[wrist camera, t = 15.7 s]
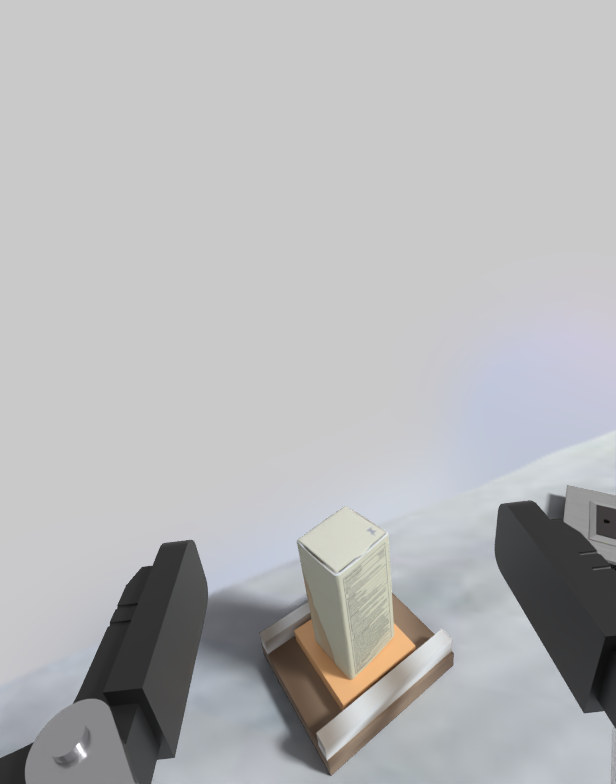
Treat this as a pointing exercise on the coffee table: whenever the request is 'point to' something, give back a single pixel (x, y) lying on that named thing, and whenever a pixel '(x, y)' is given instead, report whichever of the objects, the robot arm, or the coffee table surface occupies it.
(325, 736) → the rail board
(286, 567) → the coffee table surface
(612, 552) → the electrical outlet
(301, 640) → the plate
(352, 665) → the box
